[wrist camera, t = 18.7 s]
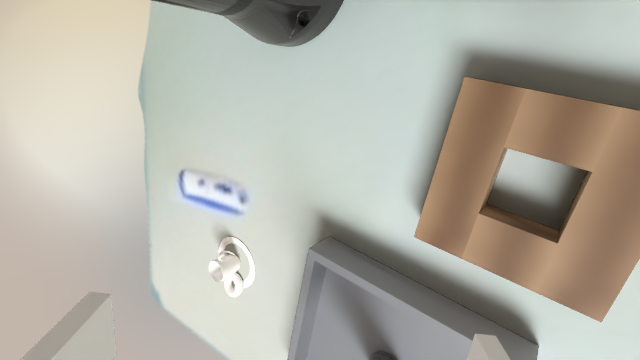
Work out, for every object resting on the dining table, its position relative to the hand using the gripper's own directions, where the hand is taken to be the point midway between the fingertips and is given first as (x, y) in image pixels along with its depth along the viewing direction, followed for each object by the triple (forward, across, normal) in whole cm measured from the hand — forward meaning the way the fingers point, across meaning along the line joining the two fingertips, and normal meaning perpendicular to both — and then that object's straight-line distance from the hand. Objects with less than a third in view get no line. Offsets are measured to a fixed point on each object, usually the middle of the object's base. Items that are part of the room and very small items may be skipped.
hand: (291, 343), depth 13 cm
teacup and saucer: (+37, -12, -22) cm, 44 cm away
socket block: (+16, +18, +2) cm, 24 cm away
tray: (+20, +11, -21) cm, 31 cm away
